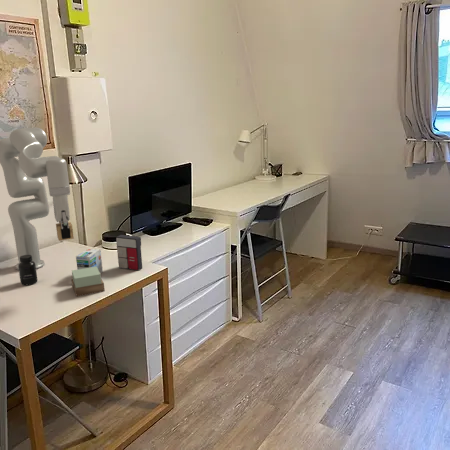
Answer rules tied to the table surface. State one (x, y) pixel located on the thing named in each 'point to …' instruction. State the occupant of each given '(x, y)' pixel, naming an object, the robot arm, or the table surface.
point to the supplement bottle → (27, 270)
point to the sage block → (86, 277)
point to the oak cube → (58, 228)
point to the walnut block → (88, 289)
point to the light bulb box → (89, 259)
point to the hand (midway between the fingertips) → (65, 235)
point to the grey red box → (129, 252)
